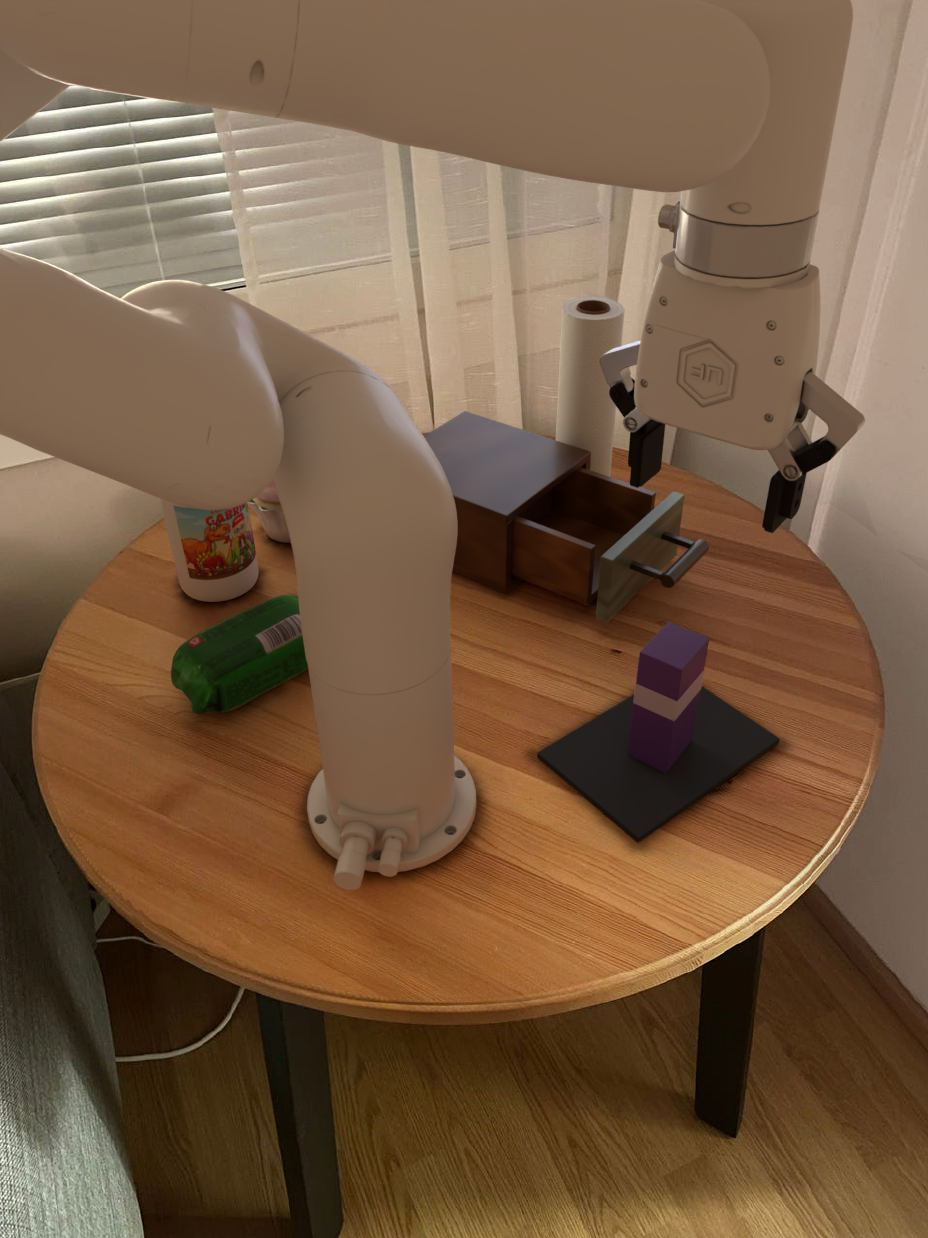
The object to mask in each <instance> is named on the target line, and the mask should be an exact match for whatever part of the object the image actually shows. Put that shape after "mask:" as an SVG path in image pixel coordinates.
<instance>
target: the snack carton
mask: <svg viewBox="0 0 928 1238" xmlns="http://www.w3.org/2000/svg"><path fill="white" fill-rule="evenodd" d="M709 644H710V637H708V636H706V635H703V634H700V633H698V632H695V631H693V630H691V629H688V628H685V627H683V626H680V625H678V624H675V623H673V622H671V621H667V622H666V623H665V624H664V625H663V627H661V629H660V630H659V631H658V632H657V633H656V634H655V635H654V636H653V637H652V638H651V639H650V641H648V643H646V644H645V646H644V647H643V648H642V649H641V650H640V651H639V654H638V655H639V656H638V663H637V664H638V665H637V670H636V671H637V672H636V678H635V684H634V693H633V695H634V700H633V712H632V720H631V728H630V736H629V745H628V753H627V755H629V756H631V757H633V758H635V759H637V760H639V761H641V762H643V763H646V764H648V765H650V766H652V767H654V768H656V769H658V770H660V771H662V772H664V773H666V772H667V771H668V770H669V769H670V767H671V766H672V765H673V764H674V762H675V761H676V760H677V759H678V757H679V756H680V755H681V754H682V752H683V751H684V750H685V748H686V747H687V746H688V745H689V743H690V742H691V741H692V737H693V731H694V725H695V719H696V714H697V708H698V702H699V697H700V691H701V688H702V686H703V680H704V675H705V668H706V667H705V666H706V662H707V655H708V650H709Z"/></svg>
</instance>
